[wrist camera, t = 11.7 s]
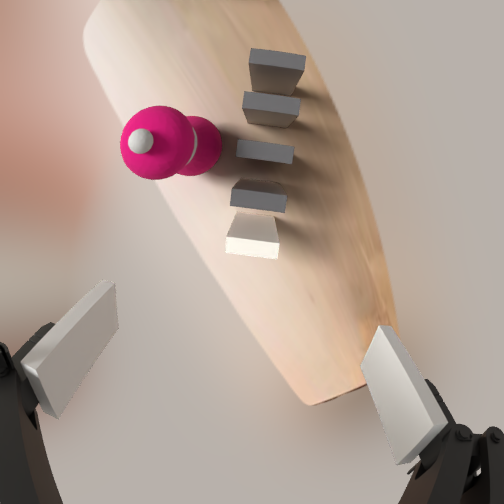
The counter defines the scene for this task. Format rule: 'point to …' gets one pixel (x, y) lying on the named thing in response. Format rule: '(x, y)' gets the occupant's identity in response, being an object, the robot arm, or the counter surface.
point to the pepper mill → (169, 143)
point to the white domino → (253, 236)
